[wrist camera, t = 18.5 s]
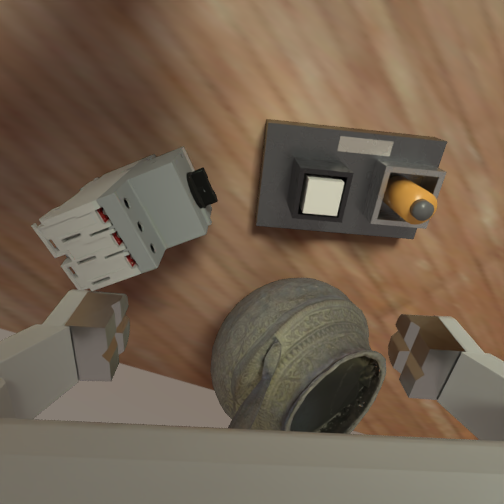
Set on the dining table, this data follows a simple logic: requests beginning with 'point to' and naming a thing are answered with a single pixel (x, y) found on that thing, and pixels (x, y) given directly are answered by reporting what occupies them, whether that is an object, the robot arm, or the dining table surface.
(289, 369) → the pot
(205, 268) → the dining table surface
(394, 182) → the orange rounded cylinder
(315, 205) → the button
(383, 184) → the grey socket board
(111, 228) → the circuit breaker
